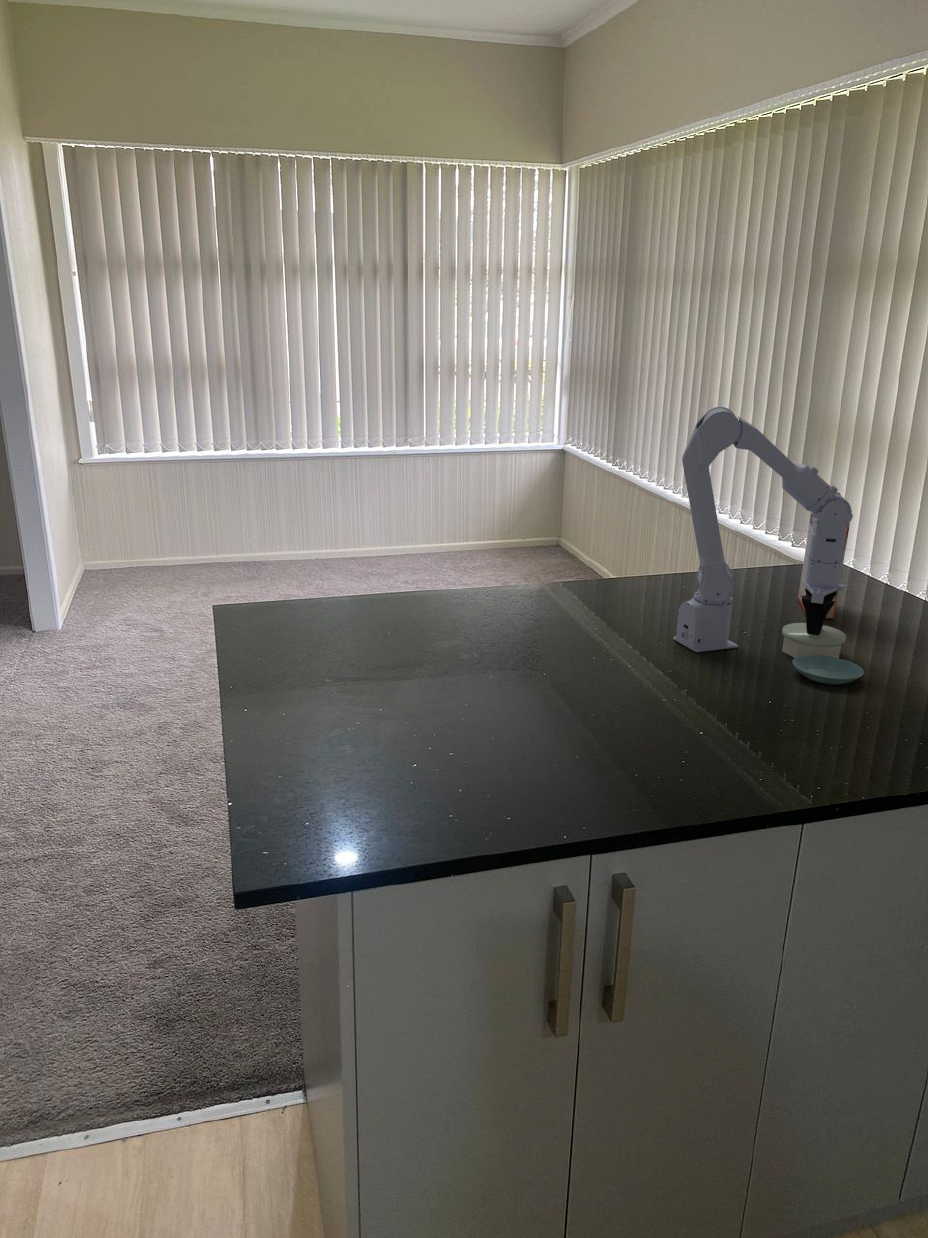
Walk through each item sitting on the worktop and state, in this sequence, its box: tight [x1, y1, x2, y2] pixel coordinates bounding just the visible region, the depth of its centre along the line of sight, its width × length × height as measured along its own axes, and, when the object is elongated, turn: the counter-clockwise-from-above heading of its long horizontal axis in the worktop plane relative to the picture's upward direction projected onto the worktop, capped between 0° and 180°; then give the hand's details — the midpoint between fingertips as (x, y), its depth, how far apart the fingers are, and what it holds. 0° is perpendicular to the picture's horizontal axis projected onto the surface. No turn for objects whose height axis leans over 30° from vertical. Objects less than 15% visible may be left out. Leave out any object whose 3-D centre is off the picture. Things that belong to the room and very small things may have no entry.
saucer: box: [792, 655, 865, 686], centre depth 165 cm, size 12×12×2 cm
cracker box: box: [797, 511, 851, 620], centre depth 200 cm, size 14×6×21 cm, turn 168°
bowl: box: [781, 636, 842, 659], centre depth 177 cm, size 10×10×3 cm
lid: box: [781, 622, 847, 647], centre depth 176 cm, size 11×11×4 cm
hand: (814, 630), depth 176 cm, fingers open, 5 cm apart
